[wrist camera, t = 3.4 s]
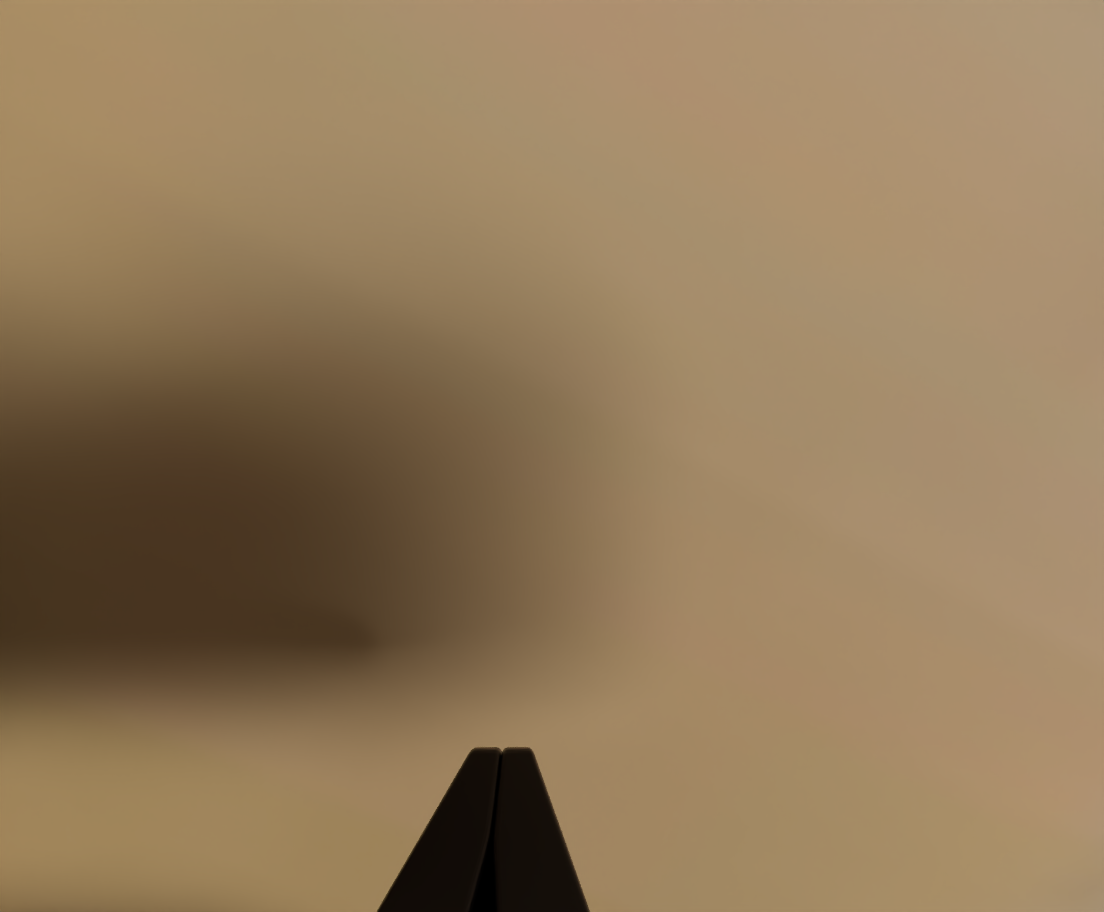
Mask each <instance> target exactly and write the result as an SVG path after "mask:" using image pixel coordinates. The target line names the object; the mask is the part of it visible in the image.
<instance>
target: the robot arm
mask: <svg viewBox="0 0 1104 912" xmlns="http://www.w3.org/2000/svg"><path fill="white" fill-rule="evenodd" d="M377 912H590V910H589V908H588V905H587V902H586V899H585V896H584V894H583V891H582V888H581V885H580V882H579V879H578V877H577V874H576V871H575V868H574V865H573V862H572V860H571V857H570V854H569V851H568V848H567V845H566V843H565V840H564V837H563V834H562V831H561V828H560V826H559V823H558V820H557V817H556V814H555V812H554V809H553V806H552V803H551V800H550V797H549V795H548V792H547V789H546V786H545V783H544V780H543V778H542V775H541V772H540V769H539V766H538V763H537V761H536V758H535V755H534V753H533V751H532V749H530V748H528V747H508V748H505V749H504V750H503V752H502V751H501V749H500V748H497V747H477V748H474V749H472V750H471V752H470V753H469V754H468V756H467V758H466V759H465V761H464V763H463V764H462V766H461V768H460V770H459V771H458V773H457V775H456V776H455V778H454V780H453V782H452V783H451V785H450V787H449V788H448V790H447V792H446V794H445V795H444V797H443V799H442V800H441V802H440V804H439V806H438V807H437V809H436V811H435V812H434V814H433V816H432V818H431V819H430V821H429V823H428V824H427V826H426V828H425V830H424V831H423V833H422V835H421V836H420V838H419V840H418V842H417V843H416V845H415V847H414V848H413V850H412V852H411V854H410V855H409V857H408V859H407V860H406V862H405V864H404V866H403V867H402V869H401V871H400V872H399V874H398V876H397V878H396V879H395V881H394V883H393V884H392V886H391V888H390V890H389V891H388V893H387V895H386V896H385V898H384V900H383V902H382V903H381V905H380V907H379V909H378V910H377Z"/></svg>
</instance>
